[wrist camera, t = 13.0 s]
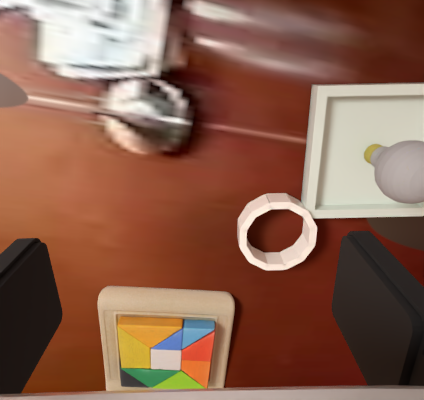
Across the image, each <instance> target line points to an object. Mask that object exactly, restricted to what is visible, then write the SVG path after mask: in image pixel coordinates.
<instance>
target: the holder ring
mask: <svg viewBox="0 0 424 400" xmlns="http://www.w3.org/2000/svg"><path fill="white" fill-rule="evenodd" d="M271 209H290V210H291V211H293V212H295V213H297V214H299V215H301V216H302V217H303V219H304V221H303V231H302V234H301V236H300V237H299V238H298V240H297V241H296V243H295V244H294V245H293V246H291V247H289V248H287V249H285V250H283V251H281V252H268V253H264V252H262V251H260V250H258V249H256V248H254V247H252V246H251V245H250V243H249V242H248V240H247V230H248V228H249V227H250V225H251V224H252V222H253V221H254V219H255V218H256V217H258V216H260V215H261V214H263V213H265V212H267V211H269V210H271ZM316 235H317V226H316V224H315V222H314V220H313V219H312V217H311V215H310V213H309V211H308V210H307V209H306V208H305V207H304V205H303V204H302V202H301V201H299V200H297V199H296V198H294V197H292V196H290V195H288V194H285V193H272V194H264V195H262V196H260V197H258V198H257V199H255V200H253V201H251V202H249V203H248V204H247V205H246V207H245V208H244V210H243V212H242V213H241V215H240V216H239V218H238V231H237V236H238V242H239V247H240V249H241V251H242V252H243V254H244V255H245V257H246V258H247V260H248V261H249V262H250V263H252V264H254V265H256V266H258V267H260V268H262V269H264V270H285V269H288V268H290V267H292V266H295V265H297V264H299V263H301V262H303V261H304V260H305V259H306V257H307V256H308V255H309V253H310V252H311V251H312V249H313V248H314V247H315V244H316Z"/></svg>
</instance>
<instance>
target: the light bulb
mask: <svg viewBox="0 0 424 400" xmlns="http://www.w3.org/2000/svg"><path fill="white" fill-rule="evenodd" d="M364 159H365V161H366V162H368V163H370V164H372V165H373V166H374V167H375V170H374V177H375V181H376V184H377V186H378V187H379V189H380V190H381V192H382V193H383V194H384V195H386V196H387V197H389V198H390V199H392V200H394V201H396V202H400V203H406V204H414V203H421V202H424V142H423V141H418V140H407V141H401V142H398V143H396V144H394V145H392V146H390V147H386V146H382V145H379V144H372V145H370V146H369V147H368V148H367V149H366V150H365V152H364Z"/></svg>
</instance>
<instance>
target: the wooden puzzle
mask: <svg viewBox="0 0 424 400" xmlns="http://www.w3.org/2000/svg"><path fill="white" fill-rule="evenodd" d="M234 312H235V302H234V299H233V297H232V295H231V294H230V293H228V292H222V291H205V290H187V289H167V288H147V287H127V286H107V287H105V288H104V289H103V290H102V291H101V292H100V294H99V297H98V314H99V322H100V331H101V340H102V349H103V358H104V367H105V377H106V390H107V391H126V390H164V389H206V388H224V382H225V375H226V368H227V360H228V353H229V347H230V339H231V333H232V326H233V319H234Z"/></svg>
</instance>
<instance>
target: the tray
mask: <svg viewBox="0 0 424 400" xmlns="http://www.w3.org/2000/svg"><path fill="white" fill-rule="evenodd" d="M407 140H418V141H423V142H424V82H420V83H367V84H315V85H312V90H311V100H310V111H309V122H308V133H307V143H306V154H305V165H304V176H303V186H302V197H301V202H302V204H303V205H304V207H305V208H306V209H307V210H308V211H309V213H310V215H311V217H312V218H358V217H405V216H424V202H421V203H414V204H406V203H400V202H396V201H394V200H392V199H390V198H389V197H387V196H386V195H384V194H383V193H382V192H381V190H380V189H379V187H378V186H377V184H376V181H375V177H374V170H375V167H374V166H373V165H372V164H370V163H368V162H366V161H365V159H364V152H365V150H366V149H367V148H368V147H369V146H370V145H372V144H379V145H382V146H386V147H390V146H392V145H394V144H396V143H398V142H401V141H407Z"/></svg>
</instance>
